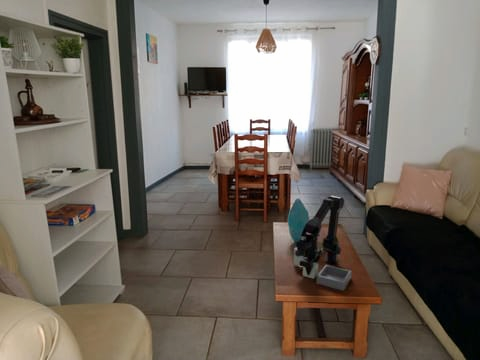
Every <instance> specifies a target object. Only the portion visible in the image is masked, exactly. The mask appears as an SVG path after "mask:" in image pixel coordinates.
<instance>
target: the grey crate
mask: <svg viewBox="0 0 480 360" xmlns="http://www.w3.org/2000/svg"><path fill="white" fill-rule="evenodd" d="M351 279H352V270H350V269H345V268H341V267H337V266H334V265H331V264H325V265H324V266H323V268H321V270H320V271H318V274H317V276H316V284H317V285H321V286H324V287H328V288H332V289H335V290H339V291H343V292H344V291H345V289H346V288H347V286H348V284H349V282H350V281H351Z"/></svg>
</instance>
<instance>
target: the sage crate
mask: <svg viewBox="0 0 480 360" xmlns="http://www.w3.org/2000/svg"><path fill="white" fill-rule="evenodd" d="M313 265H314V266H313V268H312V270H311V272H310V275H307V272H306V269H305V267H302V277H307V278H309V279H313V280H314V279H315V278H317V275H318V274H319V262H318V263H314V262H313Z"/></svg>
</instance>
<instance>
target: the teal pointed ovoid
mask: <svg viewBox="0 0 480 360" xmlns="http://www.w3.org/2000/svg"><path fill="white" fill-rule="evenodd" d="M309 220H310V215H309V211H308V209H307V207H306V206H305V205H304V204H303V202H302V200H301V199H300V197H296V198H295V200H294V201H293V204H292V206H291V208H290V210H289V212H288V218H287V224H288V231H289V235H290V237H291V239H292V241H293V243H297V242H298V241H300V239H301V238H303V236H301V234H302V232H303V229H304V227H305V225H306V224H307V222H308V221H309Z"/></svg>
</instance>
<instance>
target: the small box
mask: <svg viewBox="0 0 480 360" xmlns="http://www.w3.org/2000/svg"><path fill="white" fill-rule="evenodd" d="M296 250H297V248H296V247H295V248H293V266H295V267H298V266H299V264H300V261H301V260H302V259H303V258H304V259H307V257H304V256H299V257H297V256H296V255H295V251H296Z"/></svg>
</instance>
